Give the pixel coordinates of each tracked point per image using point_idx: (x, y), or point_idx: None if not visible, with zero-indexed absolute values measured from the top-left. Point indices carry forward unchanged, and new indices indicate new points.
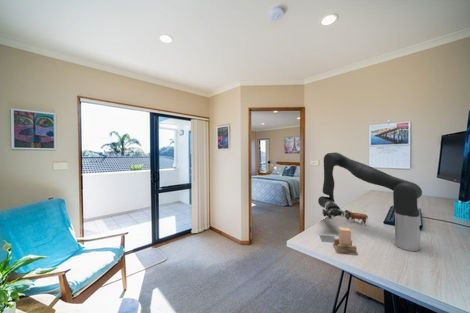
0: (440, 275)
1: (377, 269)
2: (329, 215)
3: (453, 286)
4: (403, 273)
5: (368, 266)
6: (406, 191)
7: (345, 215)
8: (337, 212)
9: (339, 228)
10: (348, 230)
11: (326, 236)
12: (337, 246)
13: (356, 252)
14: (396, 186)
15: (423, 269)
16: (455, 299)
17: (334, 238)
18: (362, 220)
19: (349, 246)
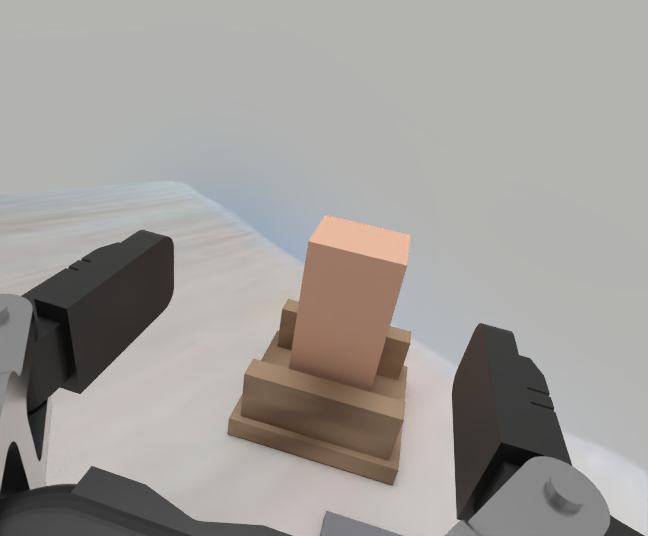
0: (34, 217)
1: (262, 271)
2: (521, 357)
3: (82, 197)
4: (174, 244)
5: (287, 287)
6: None
7: (87, 333)
8: (161, 500)
9: (408, 253)
10: (342, 221)
11: None
12: (406, 354)
13: (275, 341)
14: None
15: (45, 239)
16: (157, 187)
17: (400, 418)
18: None
19: None
